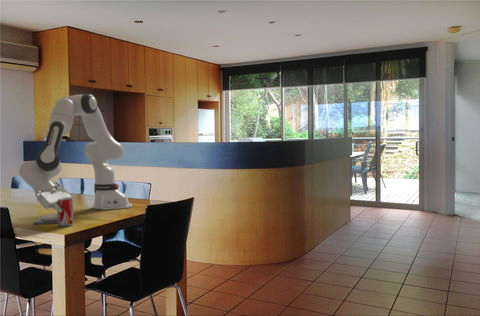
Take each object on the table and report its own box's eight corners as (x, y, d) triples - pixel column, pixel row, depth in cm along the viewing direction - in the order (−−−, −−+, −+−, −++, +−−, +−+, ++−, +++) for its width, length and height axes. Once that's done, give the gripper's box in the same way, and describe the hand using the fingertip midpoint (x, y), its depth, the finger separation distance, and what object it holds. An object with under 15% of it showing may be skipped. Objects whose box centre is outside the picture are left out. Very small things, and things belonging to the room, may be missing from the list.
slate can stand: (71, 216, 222) (71, 212, 221) (66, 222, 207) (66, 218, 207) (40, 218, 218) (40, 214, 218) (33, 224, 203) (33, 220, 203)
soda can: (54, 226, 199) (53, 199, 198) (65, 223, 206) (64, 197, 205) (65, 227, 197) (65, 199, 196) (76, 224, 203) (76, 197, 203)
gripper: (37, 187, 190) (58, 209, 190) (61, 182, 211) (80, 202, 210) (29, 197, 191) (49, 219, 191) (53, 191, 211) (72, 210, 211)
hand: (66, 210), depth 201 cm, fingers closed on soda can, 6 cm apart
